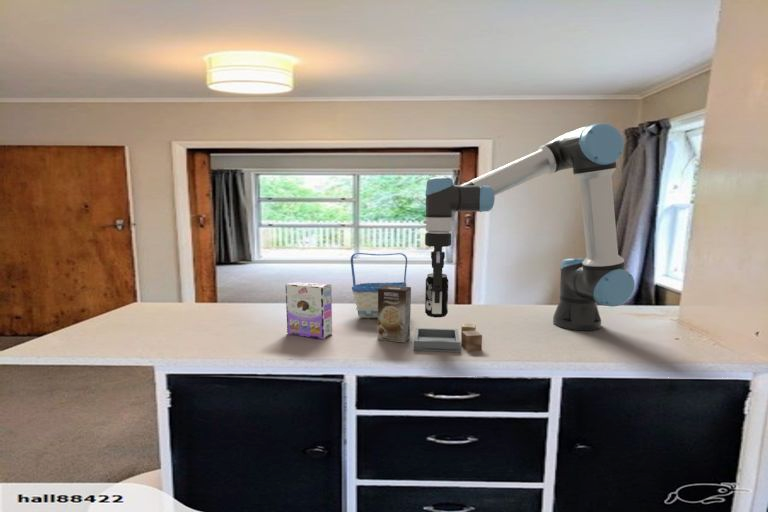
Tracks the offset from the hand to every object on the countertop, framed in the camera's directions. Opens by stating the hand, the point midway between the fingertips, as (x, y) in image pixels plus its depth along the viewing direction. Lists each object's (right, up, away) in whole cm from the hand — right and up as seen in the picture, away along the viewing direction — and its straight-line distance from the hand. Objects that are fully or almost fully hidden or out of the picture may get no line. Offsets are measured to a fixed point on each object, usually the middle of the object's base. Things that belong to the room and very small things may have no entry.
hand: (436, 310), depth 130 cm
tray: (0, -10, +1) cm, 10 cm away
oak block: (+11, -10, +8) cm, 16 cm away
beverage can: (0, -2, 0) cm, 2 cm away
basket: (-18, -6, +33) cm, 38 cm away
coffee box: (-12, -10, +7) cm, 17 cm away
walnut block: (+10, -11, -2) cm, 15 cm away
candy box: (-39, -9, +10) cm, 42 cm away
